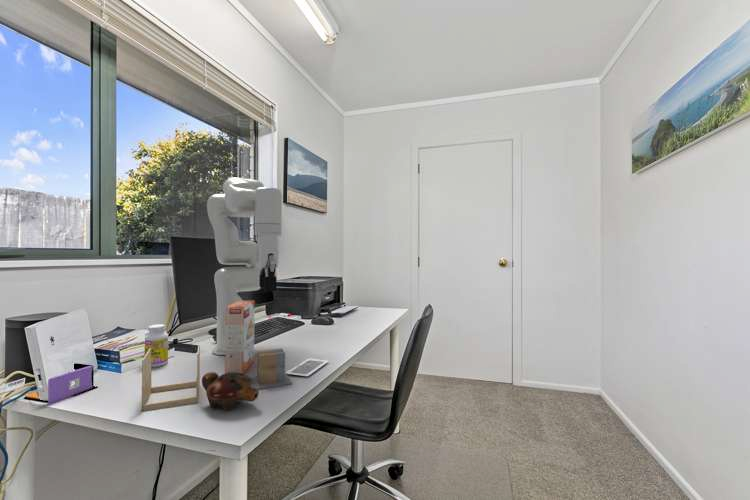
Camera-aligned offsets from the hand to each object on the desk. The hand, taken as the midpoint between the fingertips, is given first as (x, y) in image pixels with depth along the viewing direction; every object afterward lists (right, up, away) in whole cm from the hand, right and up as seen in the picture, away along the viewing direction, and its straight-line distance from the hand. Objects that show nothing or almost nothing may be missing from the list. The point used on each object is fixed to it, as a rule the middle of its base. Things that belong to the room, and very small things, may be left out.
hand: (267, 289), depth 100 cm
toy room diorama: (-51, -27, -10) cm, 59 cm away
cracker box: (-12, -27, +11) cm, 31 cm away
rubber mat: (+1, -27, -1) cm, 27 cm away
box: (+1, -26, -1) cm, 26 cm away
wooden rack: (-20, -27, -12) cm, 36 cm away
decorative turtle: (-4, -27, -17) cm, 32 cm away
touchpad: (+10, -27, +10) cm, 31 cm away
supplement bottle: (-41, -27, +13) cm, 51 cm away
